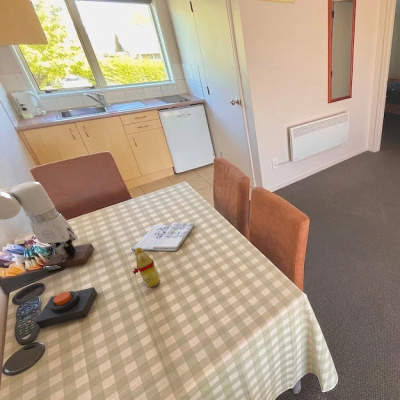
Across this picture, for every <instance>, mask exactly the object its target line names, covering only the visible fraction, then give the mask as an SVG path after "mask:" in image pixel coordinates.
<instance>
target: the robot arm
mask: <svg viewBox="0 0 400 400" xmlns="http://www.w3.org/2000/svg"><path fill="white" fill-rule="evenodd" d="M21 208H22V209H23V211H24V213H25V217H28V218H29V225H30V228H31V231H32V233H33V235H34V236H35V238H36V239H37V241H38V242H39V243H40V244H46V243H48V244H50V245H52V247H53V248H54V249H56V248H57V247H58V246H59V245H60V244H61V242H62V243H63V245H64V246H65V247H64V249H65V251H66V252H67V254H68V255H71V254H72V253H73V252H74V251H75V249H74V247H73V245H74V244H73V245H72V244H71V243H73V242H74V241H77V239H78V238H79V237H78V236H77V235H76V234H75V232H74V231H75V230H74V229H73V228H72V226H71V224H70V223H69V222H68V221H67V219H66V218H65V216H63V215H62V214H61V213H59V211H58V209H57V208H56V206H55V204H54V203H53V200H52V199H51V197H50V196H49V194H48V193H47V191H46V189H45V188H44V186H43V185H42V183H40V182H38V181H27V182H23V183H19V184H17V185H14V186H9V187H3V188H0V220H2V221H3V220H10V219H12V218H14V217H16V216H18V215H19V213H20V212H21ZM66 241H67V242H66Z"/></svg>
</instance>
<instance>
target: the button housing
mask: <svg viewBox="0 0 400 400" xmlns="http://www.w3.org/2000/svg"><path fill="white" fill-rule="evenodd" d="M68 292H69V293H70V294H71V296H72V299H71V300H70V301H69V302H67V303H65V304H63V305H60V306H58V305H56V304H55V302H54V301H53V300H54V298H55V297H56V296H57V295H53V296H51V297H50V298H49V300H48V301H47V303H46V304H45V306H44V308H43V309H42V310H41V312H40V314H39V315H38V317H37V318H36V320H35V324H36V325H37V326H38V328H40V329H44V328H48V327H52V326H56V325H60V324H64V323H68V322H72V321H77V320H80V319H84V318H87V317H88V315H89V313H90V311H91V309H92V307H93V305H94V302H95V300H96V299H97V296H98V294H99V293H98V291H97V289H96V288H95V287H94V286H92V287H87V288H84V289H80V290H70V291H68Z"/></svg>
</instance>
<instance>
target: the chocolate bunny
mask: <svg viewBox="0 0 400 400" xmlns="http://www.w3.org/2000/svg"><path fill="white" fill-rule="evenodd" d="M145 251H146V250H143V249H142V248H140V247H138V248H136V250H134V254H135V263H136V267H134V268H133V271H132V274H134V276H136V275H137V274H138V273H139V274H140V276H141V279H142V281H143V282H144V283H145V284H146V286H147V287H148V288H149V287H150V288H151V287H156V286H157V285H158V284H159V283H160V282H161V279H160V274H159V272H158V270H157V268H156V265H155V262H154V260H153V259H152V258H151V256H150V255H149V254H148V253H147V252H145Z"/></svg>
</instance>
